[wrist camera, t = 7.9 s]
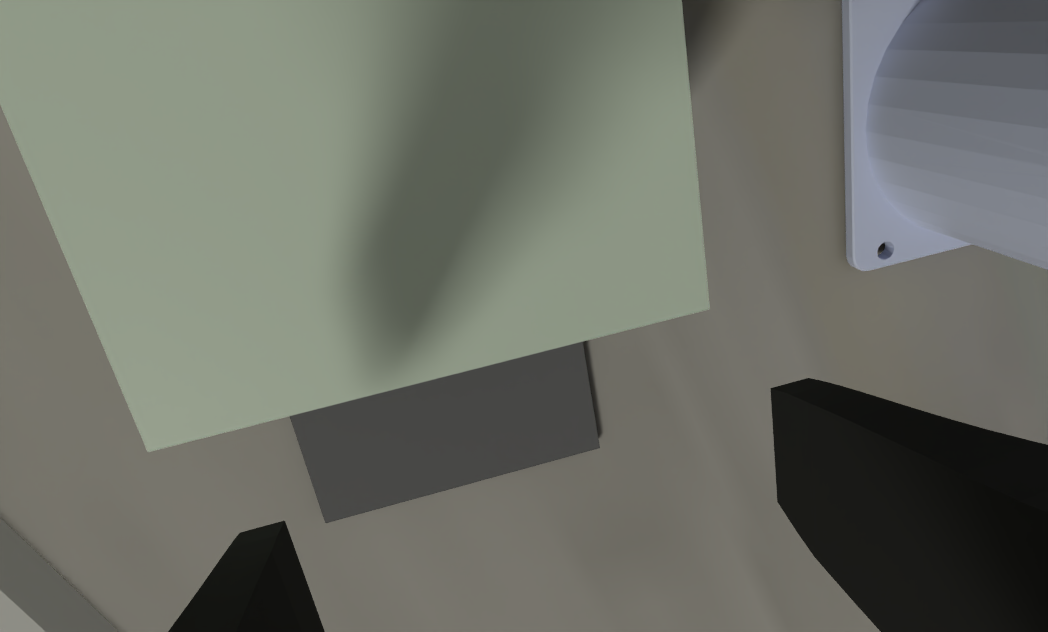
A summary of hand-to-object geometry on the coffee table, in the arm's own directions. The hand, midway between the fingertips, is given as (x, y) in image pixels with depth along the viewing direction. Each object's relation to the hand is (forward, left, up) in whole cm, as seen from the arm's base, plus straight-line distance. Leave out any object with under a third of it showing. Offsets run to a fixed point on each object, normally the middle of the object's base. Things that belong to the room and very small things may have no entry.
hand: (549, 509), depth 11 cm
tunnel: (+1, -6, -10) cm, 12 cm away
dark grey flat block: (+1, +3, -10) cm, 10 cm away
